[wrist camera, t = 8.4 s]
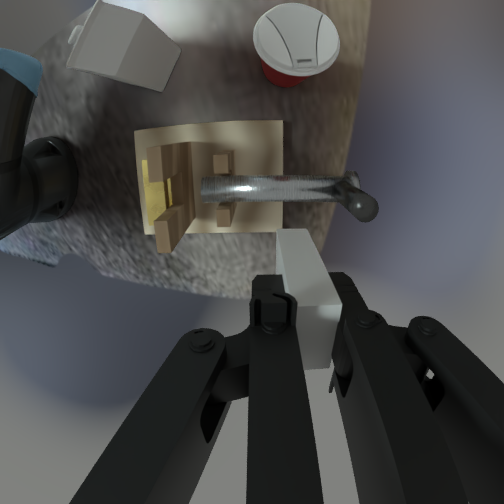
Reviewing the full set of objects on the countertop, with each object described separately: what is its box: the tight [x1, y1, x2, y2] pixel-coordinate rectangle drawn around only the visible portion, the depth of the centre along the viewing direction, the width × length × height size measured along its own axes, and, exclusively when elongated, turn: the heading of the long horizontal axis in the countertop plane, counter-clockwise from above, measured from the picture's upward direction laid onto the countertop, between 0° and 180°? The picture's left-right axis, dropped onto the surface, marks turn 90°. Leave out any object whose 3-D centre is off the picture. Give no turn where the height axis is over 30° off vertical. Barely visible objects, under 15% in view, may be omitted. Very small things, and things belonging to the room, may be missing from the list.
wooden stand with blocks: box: [134, 120, 283, 253], centre depth 33 cm, size 21×16×14 cm
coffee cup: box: [253, 3, 340, 87], centre depth 26 cm, size 8×8×15 cm
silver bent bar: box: [201, 171, 379, 222], centre depth 28 cm, size 17×4×11 cm, turn 91°
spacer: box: [142, 159, 172, 226], centre depth 35 cm, size 2×8×8 cm, turn 1°
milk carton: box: [66, 0, 181, 92], centre depth 24 cm, size 7×7×19 cm
